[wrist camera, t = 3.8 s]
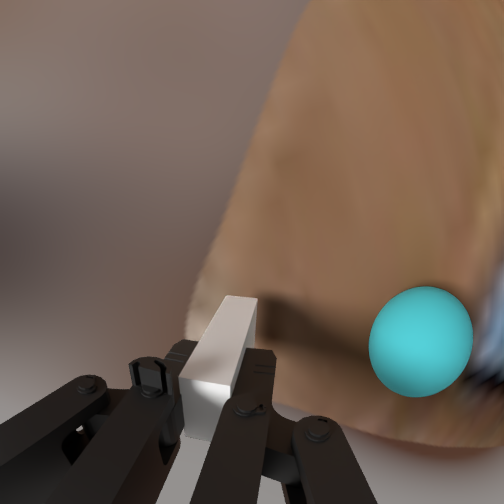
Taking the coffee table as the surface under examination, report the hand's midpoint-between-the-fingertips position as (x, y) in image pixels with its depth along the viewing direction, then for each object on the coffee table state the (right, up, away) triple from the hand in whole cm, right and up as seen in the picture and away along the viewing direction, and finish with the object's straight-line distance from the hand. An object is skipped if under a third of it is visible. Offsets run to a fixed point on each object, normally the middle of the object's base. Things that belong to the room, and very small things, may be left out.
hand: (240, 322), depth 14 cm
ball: (+9, -1, -2) cm, 9 cm away
